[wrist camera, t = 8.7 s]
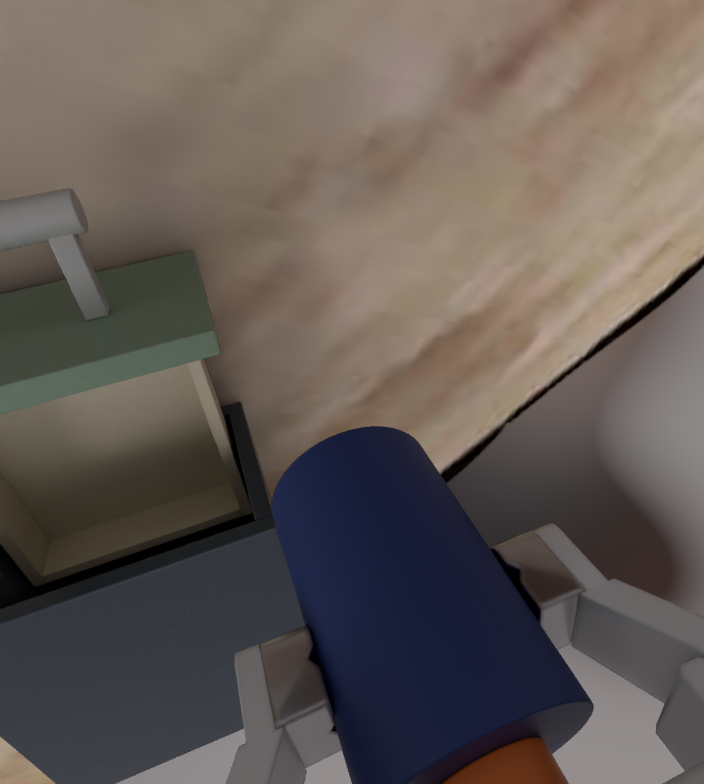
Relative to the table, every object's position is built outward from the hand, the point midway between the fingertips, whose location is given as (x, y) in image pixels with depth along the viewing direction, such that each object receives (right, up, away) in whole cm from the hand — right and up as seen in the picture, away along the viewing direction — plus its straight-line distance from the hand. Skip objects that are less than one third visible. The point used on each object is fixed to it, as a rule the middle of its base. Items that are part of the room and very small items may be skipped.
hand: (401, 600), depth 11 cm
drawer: (-14, +5, +14) cm, 21 cm away
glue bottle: (-1, +2, +2) cm, 3 cm away
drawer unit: (-13, -4, +20) cm, 24 cm away
